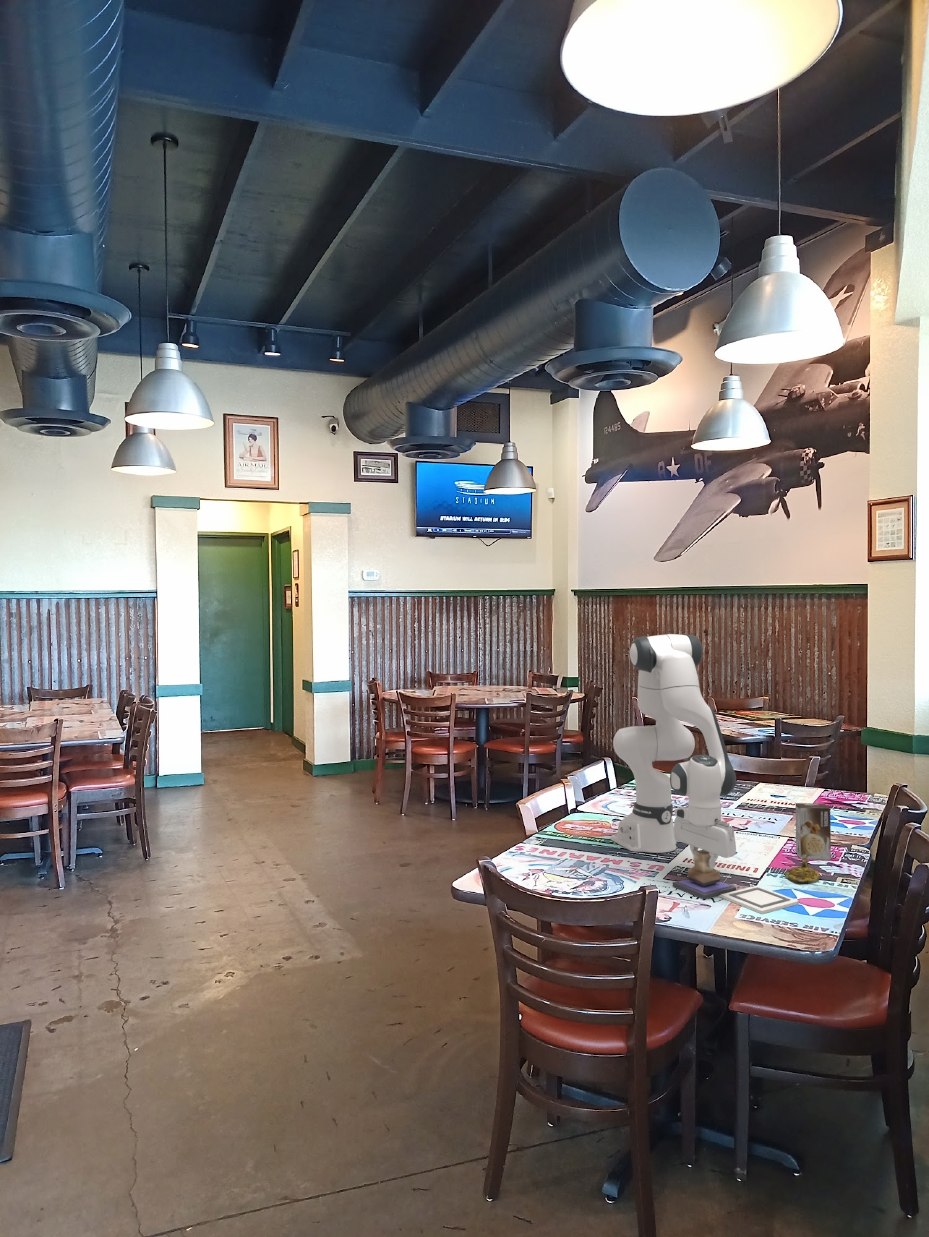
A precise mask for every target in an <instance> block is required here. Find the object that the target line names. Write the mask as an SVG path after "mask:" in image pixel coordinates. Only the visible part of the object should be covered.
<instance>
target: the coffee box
mask: <svg viewBox="0 0 929 1237" xmlns="http://www.w3.org/2000/svg"><path fill="white" fill-rule="evenodd" d="M831 822H832V821H831V808H830V806H828V805H826V804H825V803H813V802H812V803H807V802H805V803H803V802H795V854H796V853H797V854H796V855H797V857H798V856H799V857H800V858H801V859H800V858H799V857H798V858H799V859H800V860H802V858H807V860H812V859H813V860H816V861H817V860H818V861H819V860H820V861H823V860H824V861H832V855H831V854H832V845H831V844H832V843H831V841H832V839H831V838H832V837H831V836H832V835H831V834H832V833H831V832H832V831H831V830H832V828H831Z"/></svg>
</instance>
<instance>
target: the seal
mask: <svg viewBox="0 0 929 1237" xmlns="http://www.w3.org/2000/svg"><path fill="white" fill-rule="evenodd" d="M801 861H802V862H801V863H802V864H801V865H800V866H795V867H792V868H788V869H787V870H786V871H785V873H784V878H785V879H786V880H788V881H790V882H791V883H793V884H797V885H812V884H816V883H819V881H820V880H821V875H820V872H818V871H816V870H815V869H813V868H811V867H809V863H808V859H807V858H802V859H801ZM819 879H820V880H819Z"/></svg>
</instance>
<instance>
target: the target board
mask: <svg viewBox="0 0 929 1237" xmlns="http://www.w3.org/2000/svg"><path fill="white" fill-rule="evenodd" d="M720 898H721V899H724V900H727V901H729V902H731V903H733V904H736V905H739V906H741V907H743V908H746V909H749V910H751V911H753V912H756V913H758V914H761V915H764V914H767V913H771V912H774V911H779V910H781V909H786V908H790V907H793V906H798V905H800V900H798V899H796V898H795V899H794V898H793V897H790V896H786V895H784V894H782V893H779V892H776V891H774V890H773V891H772V890H770V889H767V888H765V887H763V886H760V885H754V886H750V887H749V886H748V887H745V888H742V889H738V890H737V889H736V891H733V892H729V893H725V894H721V896H720Z"/></svg>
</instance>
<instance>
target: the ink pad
mask: <svg viewBox="0 0 929 1237" xmlns="http://www.w3.org/2000/svg"><path fill="white" fill-rule="evenodd" d="M673 886H674V887H673ZM672 887H673V888H675V887H677V888H678V889H677V888H676V889H677V890H680V889H681V890H680V891H683V892H685V893H687V892H688V894H689V895H692V896H694V895H695V896H694V897H697V898H699V897H700V899H702V900H704V899H705V900H708V899H712V898H717V897H721V894H725V893H729V892H733V891H737V887H736V886H735V885H734V886H733V885H731V884H729V883H726V882H723V881H720V882H717V883H713V884H709V885H705V886H703V885H701V884H698V883H696V882H693V881H691V880H688V878H685V879H680V880H677V881H673V882H672Z"/></svg>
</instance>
